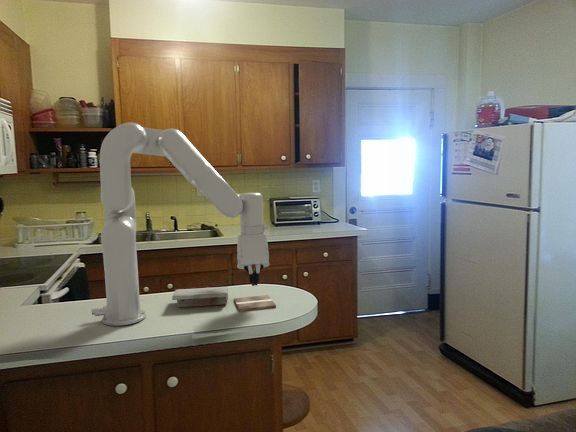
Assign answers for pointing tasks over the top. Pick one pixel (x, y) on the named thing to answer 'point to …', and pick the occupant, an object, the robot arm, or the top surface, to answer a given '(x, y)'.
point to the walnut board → (254, 303)
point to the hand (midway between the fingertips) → (254, 284)
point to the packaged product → (201, 296)
